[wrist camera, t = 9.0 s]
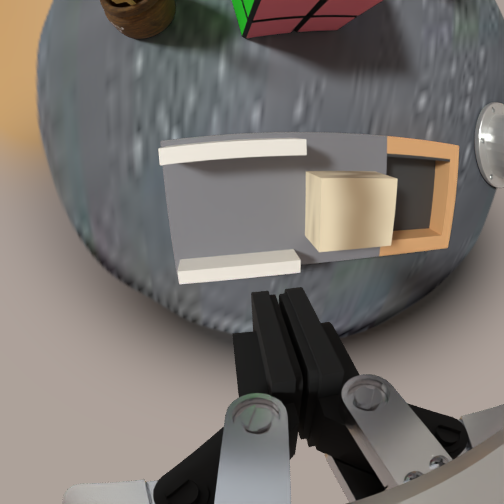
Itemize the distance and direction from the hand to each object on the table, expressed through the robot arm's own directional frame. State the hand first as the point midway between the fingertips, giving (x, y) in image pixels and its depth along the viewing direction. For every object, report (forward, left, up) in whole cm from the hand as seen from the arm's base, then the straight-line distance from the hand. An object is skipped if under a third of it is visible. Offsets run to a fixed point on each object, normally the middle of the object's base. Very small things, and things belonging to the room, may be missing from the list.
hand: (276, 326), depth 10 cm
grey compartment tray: (-10, 0, -20) cm, 22 cm away
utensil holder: (+7, -19, -20) cm, 29 cm away
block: (-10, 0, -17) cm, 20 cm away
